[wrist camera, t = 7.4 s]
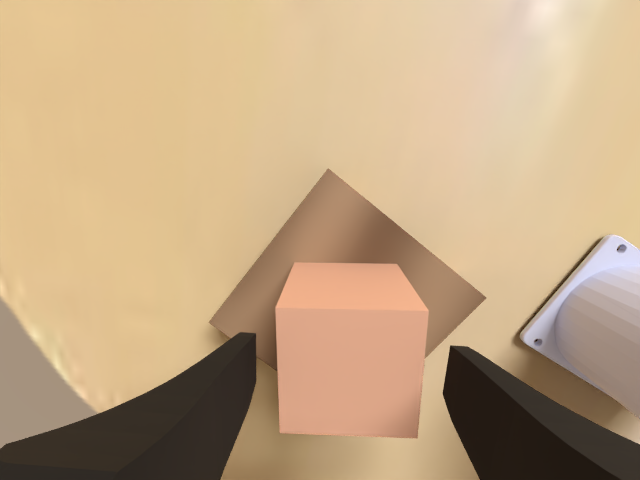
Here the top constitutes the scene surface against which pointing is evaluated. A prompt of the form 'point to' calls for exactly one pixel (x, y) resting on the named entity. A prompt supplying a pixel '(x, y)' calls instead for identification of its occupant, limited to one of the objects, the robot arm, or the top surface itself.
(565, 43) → the top surface
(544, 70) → the top surface
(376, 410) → the terracotta cube
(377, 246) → the walnut block
